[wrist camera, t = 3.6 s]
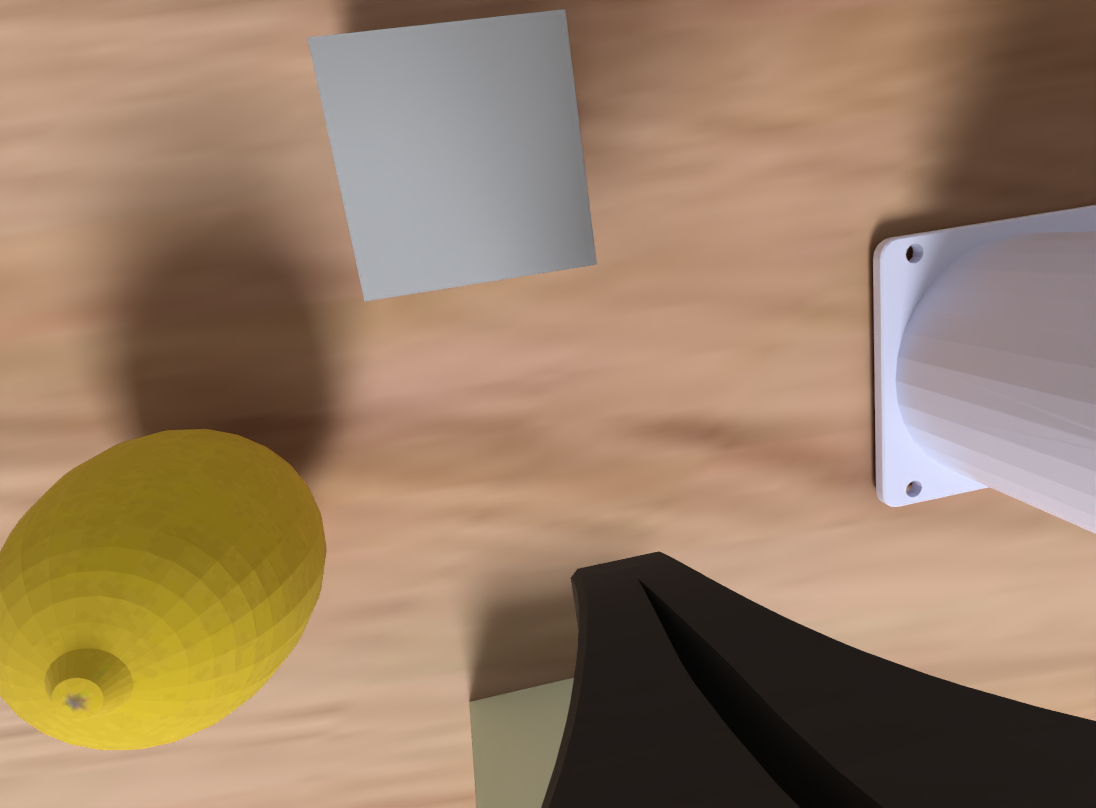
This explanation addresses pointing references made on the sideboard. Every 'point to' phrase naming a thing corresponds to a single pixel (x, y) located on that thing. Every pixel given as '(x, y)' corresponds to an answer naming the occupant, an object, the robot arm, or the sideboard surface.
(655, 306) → the sideboard surface
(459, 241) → the slate block
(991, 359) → the robot arm
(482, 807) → the sage block
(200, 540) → the lemon
